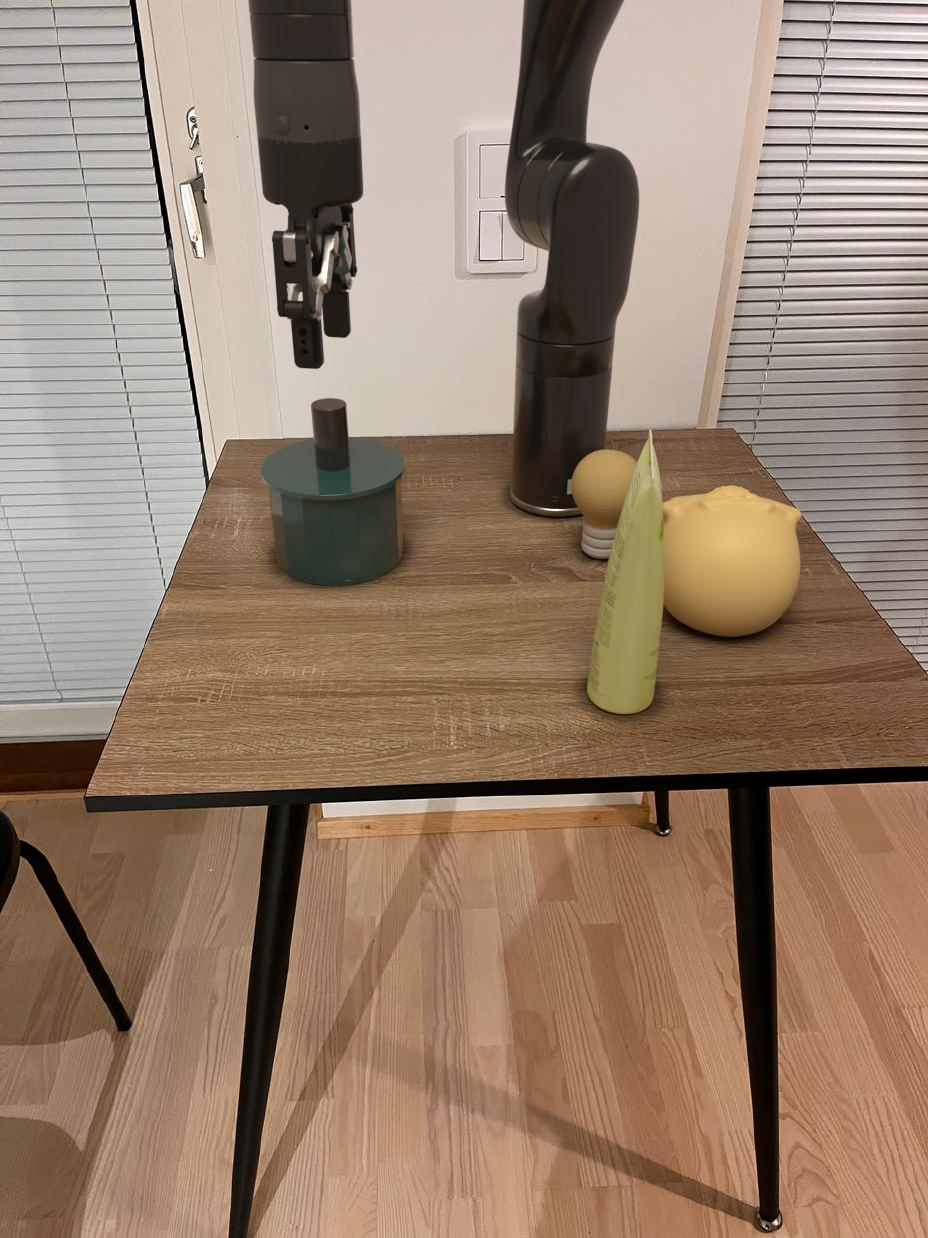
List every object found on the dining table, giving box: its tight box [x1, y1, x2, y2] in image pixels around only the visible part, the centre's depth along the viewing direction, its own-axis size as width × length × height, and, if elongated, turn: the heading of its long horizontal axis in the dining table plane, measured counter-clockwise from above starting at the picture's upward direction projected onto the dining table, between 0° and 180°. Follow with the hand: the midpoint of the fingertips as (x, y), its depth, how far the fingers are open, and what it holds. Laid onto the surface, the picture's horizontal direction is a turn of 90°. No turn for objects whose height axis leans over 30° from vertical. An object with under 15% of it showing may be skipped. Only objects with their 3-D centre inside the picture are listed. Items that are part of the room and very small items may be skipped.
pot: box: [267, 477, 404, 587], centre depth 87 cm, size 12×12×8 cm
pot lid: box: [260, 397, 406, 501], centre depth 83 cm, size 13×13×7 cm
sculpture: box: [662, 485, 802, 638], centre depth 78 cm, size 12×12×11 cm
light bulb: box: [571, 449, 638, 560], centre depth 87 cm, size 6×6×10 cm
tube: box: [586, 428, 665, 715], centre depth 65 cm, size 6×5×20 cm
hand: (324, 350), depth 78 cm, fingers open, 8 cm apart
